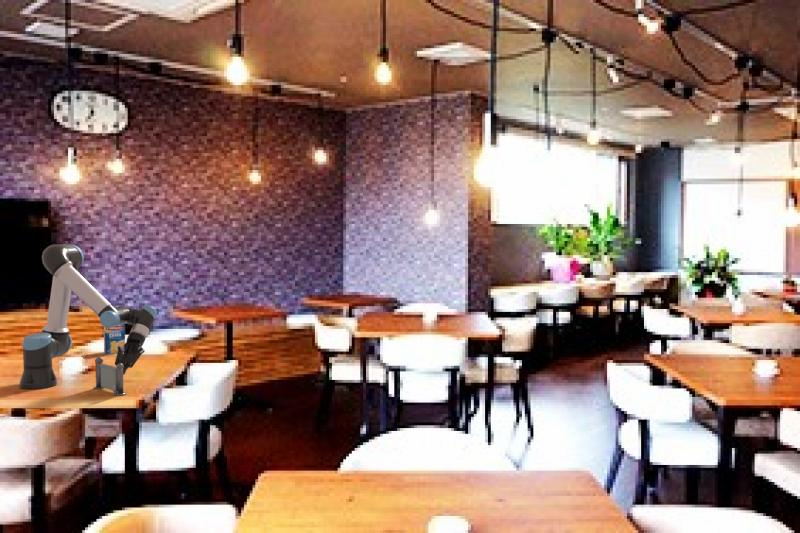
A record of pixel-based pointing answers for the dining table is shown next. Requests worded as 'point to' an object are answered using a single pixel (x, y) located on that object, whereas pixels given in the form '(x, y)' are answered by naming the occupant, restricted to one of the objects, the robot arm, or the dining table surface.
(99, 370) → the hinge post
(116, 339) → the blue cracker box
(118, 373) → the latch post
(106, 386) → the gate
